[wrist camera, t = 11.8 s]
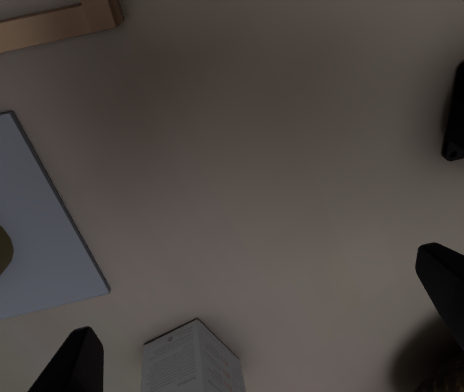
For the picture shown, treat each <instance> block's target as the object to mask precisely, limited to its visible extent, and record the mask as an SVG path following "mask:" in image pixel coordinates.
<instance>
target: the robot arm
mask: <svg viewBox="0 0 464 392" xmlns="http://www.w3.org/2000/svg"><path fill="white" fill-rule="evenodd" d="M451 153H452V154H451ZM450 154H451V155H450ZM442 156H443V158H445V159H446V160H448V161H454V160H459V159H463V158H464V62H463V63H462V64H461V65H460V66H459V68H458V70H457V75H456V81H455V86H454V92H453V97H452V103H451V108H450V114H449V119H448V125H447V131H446V136H445V142H444V147H443V153H442ZM415 269H416V273H417V275H418V277H419V279H420V281H421V283H422V284H423V286H424V288H425V290H426V291H427V293H428V295H429V297H430V299H431V300H432V302H433V304H434V306H435V308H436V309H437V311H438V313H439V315H440V316H441V318H442V320H443V321H444V323H445V325H446V326H447V328H448V329H449V331H450V332H451V334H452V335H453V337H454V338H455V339H456V341H457V342H458V344H459V345H460V347H461V348H462V349H463V351H464V255H462V254H460V253H458V252H456V251H453V250H451V249H449V248H447V247H445V246H443V245H441V244H438V243H435V242H433V243H428V244H424V245H421V246H420V247H419V248H418V253H417V259H416V265H415ZM103 365H104V350H103V345H102V343H101V341H100V340H99V338H98V337H97V335H96V334H95V332H94V331H93V329H92V328H91V327H89V326H86V327H82V328H78V329H75V330H73V331H72V332H71V333H70V335H69V336H68V337H67V339H66V340H65V342H64V343H63V344H62V346H61V347H60V348H59V350H58V351H57V352H56V354H55V355H54V357H53V358H52V359H51V361H50V362H49V363H48V365H47V366H46V367H45V369H44V370H43V372H42V373H41V374H40V376H39V377H38V378H37V380H36V381H35V382H34V384H33V385H32V386H31V388H30V389H29V391H28V392H103Z"/></svg>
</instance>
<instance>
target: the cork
mask: <svg viewBox="0 0 464 392" xmlns="http://www.w3.org/2000/svg"><path fill="white" fill-rule="evenodd" d="M13 253H14V248H13V245H12V241H11V238H10V237H9V235H8V234H7V233H6V231H5V230H4V229H3V227H2V226H0V275H1V274H2V273H3V272H4V270H5V269H6V268H7V266H8V265H9V264H10V263H11V261H12V258H13Z"/></svg>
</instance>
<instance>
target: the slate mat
mask: <svg viewBox="0 0 464 392" xmlns="http://www.w3.org/2000/svg"><path fill="white" fill-rule="evenodd" d="M0 226H2V227H3V229H4V230H5V231H6V233H7V234H8V235H9V237H10V238H11V241H12V245H13V248H14V253H13V258H12V261H11V263H10V264H9V265H8V266H7V268H6V269H5V270H4V272H3V273H2V274H1V275H0V320H1V319H5V318H9V317H13V316H17V315H22V314H26V313H30V312H34V311H38V310H43V309H47V308H51V307H55V306H59V305H63V304H68V303H72V302H76V301H80V300H84V299H89V298H93V297H97V296H101V295H105V294H109V293H110V290H111V289H110V287H109V285H108V284H107V282H106V280H105V278H104V276H103V274H102V273H101V271H100V269H99V267H98V265H97V264H96V262H95V260H94V258H93V256H92V255H91V253H90V251H89V249H88V247H87V245H86V244H85V242H84V240H83V238H82V236H81V235H80V233H79V231H78V229H77V227H76V225H75V224H74V222H73V220H72V218H71V216H70V215H69V213H68V211H67V209H66V207H65V205H64V204H63V202H62V200H61V198H60V196H59V195H58V193H57V191H56V189H55V187H54V186H53V184H52V182H51V180H50V178H49V176H48V175H47V173H46V171H45V169H44V167H43V166H42V164H41V162H40V160H39V158H38V156H37V155H36V153H35V151H34V149H33V147H32V146H31V144H30V142H29V140H28V138H27V136H26V135H25V133H24V131H23V129H22V127H21V126H20V124H19V122H18V120H17V118H16V116H15V115H14V113H13V111H8V112H4V113H0Z"/></svg>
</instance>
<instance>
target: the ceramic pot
mask: <svg viewBox="0 0 464 392" xmlns="http://www.w3.org/2000/svg"><path fill="white" fill-rule="evenodd" d="M414 392H464V351H463V352H462V353H460V354H458V355H457V356H455V357H454V358H452V359H451V360H450V361H448V362H447V363H446V364H445V365H443V366H442V367H441V368H439V369H438V370H437V371H435V372H434V373H433V374H432V375H430V376H429V377H428V378H426V379H425V380H424V381H423V382H422V383H421V384H420V385H419V386H418V388H417V389H416V390H415V391H414Z"/></svg>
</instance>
